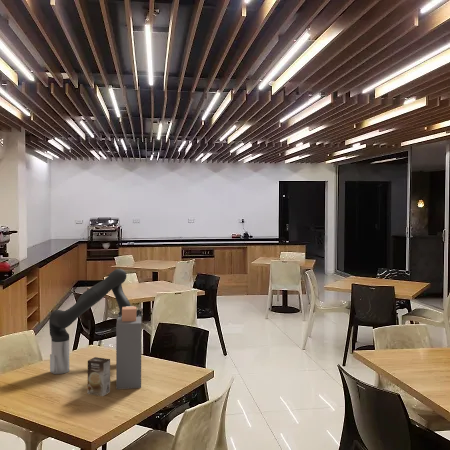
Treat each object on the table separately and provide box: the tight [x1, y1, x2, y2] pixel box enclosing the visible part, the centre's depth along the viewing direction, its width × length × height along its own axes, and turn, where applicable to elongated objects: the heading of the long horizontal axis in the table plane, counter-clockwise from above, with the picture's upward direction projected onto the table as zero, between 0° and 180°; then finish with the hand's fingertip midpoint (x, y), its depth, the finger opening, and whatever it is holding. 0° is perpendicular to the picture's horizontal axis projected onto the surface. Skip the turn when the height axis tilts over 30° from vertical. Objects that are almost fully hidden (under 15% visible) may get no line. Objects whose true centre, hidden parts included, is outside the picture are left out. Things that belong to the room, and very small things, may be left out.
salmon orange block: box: [122, 305, 137, 321], centre depth 249 cm, size 19×7×6 cm, turn 10°
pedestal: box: [115, 316, 142, 390], centre depth 243 cm, size 16×12×32 cm
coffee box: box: [87, 356, 111, 397], centre depth 229 cm, size 9×6×16 cm
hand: (129, 309), depth 253 cm, fingers closed on salmon orange block, 4 cm apart
